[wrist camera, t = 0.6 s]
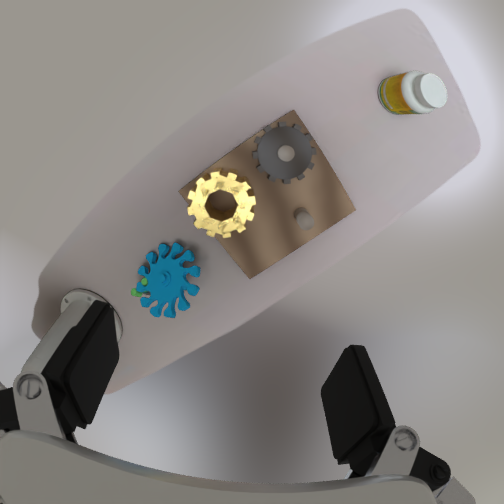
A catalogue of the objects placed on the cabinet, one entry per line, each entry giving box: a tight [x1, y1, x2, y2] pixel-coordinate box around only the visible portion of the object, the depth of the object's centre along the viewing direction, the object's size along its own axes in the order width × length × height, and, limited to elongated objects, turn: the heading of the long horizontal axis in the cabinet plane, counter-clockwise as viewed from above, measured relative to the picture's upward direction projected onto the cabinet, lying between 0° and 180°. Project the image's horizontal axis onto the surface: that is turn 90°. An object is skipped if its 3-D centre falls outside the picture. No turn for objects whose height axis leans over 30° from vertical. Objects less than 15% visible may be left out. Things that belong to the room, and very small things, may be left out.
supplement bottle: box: [378, 71, 447, 114], centre depth 25 cm, size 5×5×10 cm
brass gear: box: [187, 167, 256, 238], centre depth 31 cm, size 7×7×4 cm
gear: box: [131, 242, 200, 318], centre depth 37 cm, size 11×6×10 cm
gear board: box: [178, 110, 356, 279], centre depth 32 cm, size 17×15×5 cm
